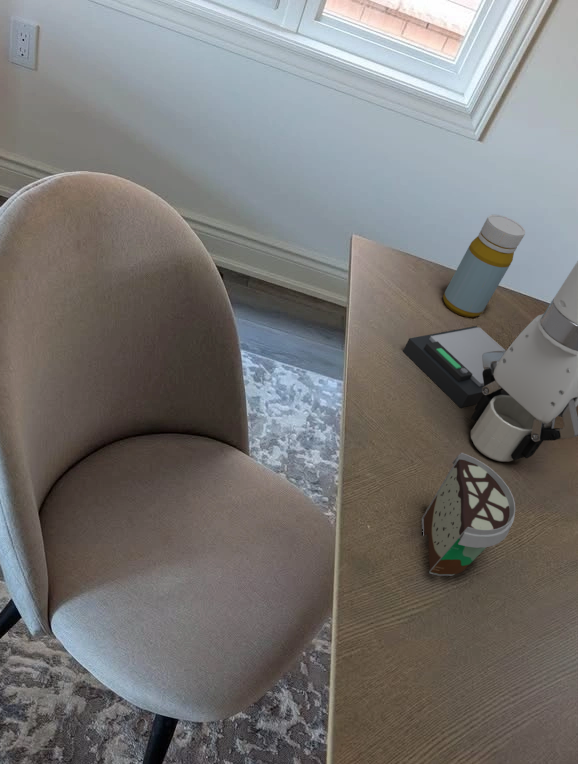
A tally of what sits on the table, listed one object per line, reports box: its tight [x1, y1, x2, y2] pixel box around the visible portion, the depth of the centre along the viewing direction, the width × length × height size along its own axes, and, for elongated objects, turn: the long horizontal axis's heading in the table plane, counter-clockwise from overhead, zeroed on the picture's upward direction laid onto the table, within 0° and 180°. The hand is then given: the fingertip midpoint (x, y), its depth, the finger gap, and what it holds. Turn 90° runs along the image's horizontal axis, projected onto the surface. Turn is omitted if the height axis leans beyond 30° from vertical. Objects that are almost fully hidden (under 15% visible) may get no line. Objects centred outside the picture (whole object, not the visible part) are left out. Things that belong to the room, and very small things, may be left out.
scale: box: [402, 325, 510, 409], centre depth 111 cm, size 15×13×4 cm
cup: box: [470, 395, 534, 462], centre depth 98 cm, size 7×7×6 cm
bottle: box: [442, 214, 526, 318], centre depth 121 cm, size 7×7×15 cm
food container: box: [421, 452, 516, 577], centre depth 81 cm, size 12×6×10 cm, turn 170°
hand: (499, 436), depth 99 cm, fingers closed on cup, 6 cm apart
